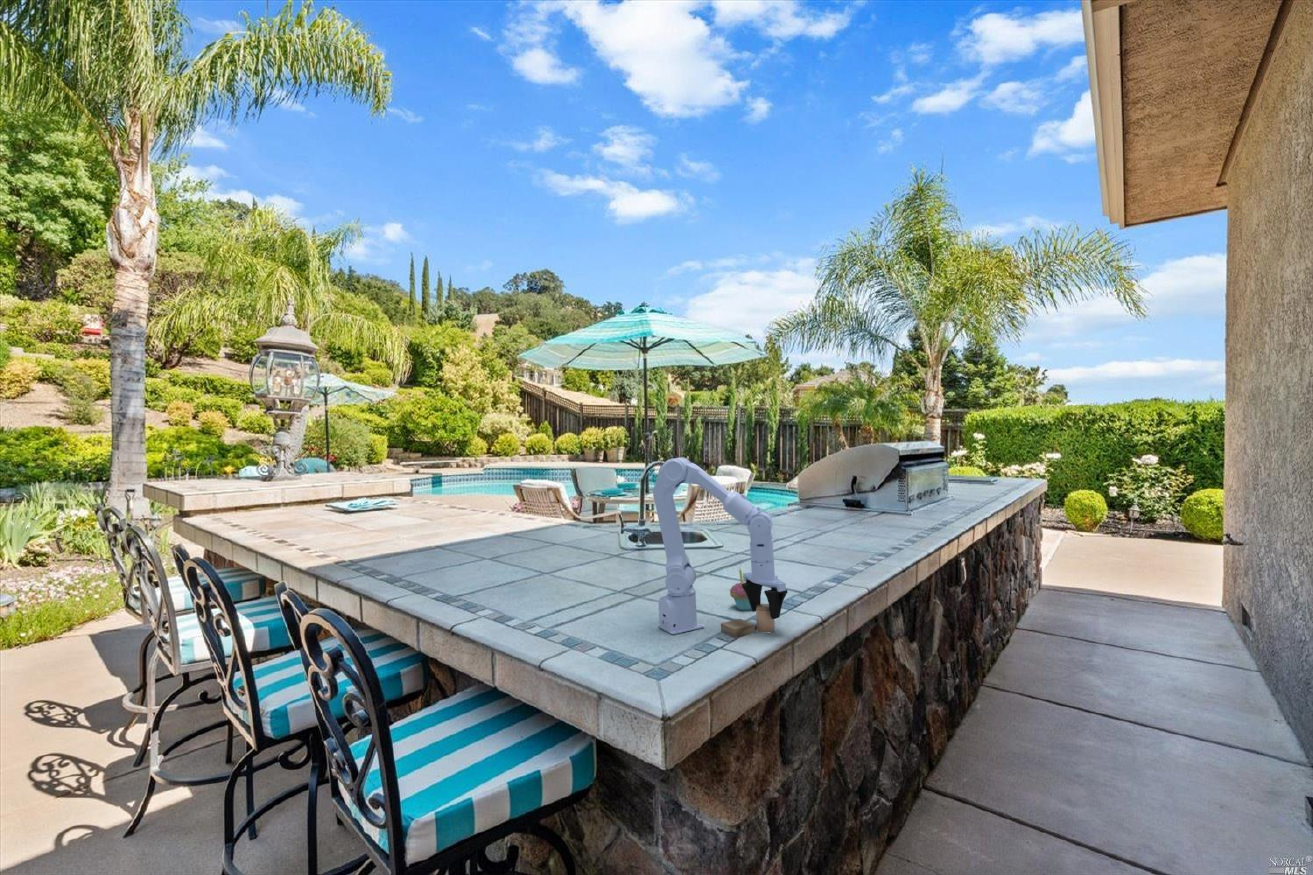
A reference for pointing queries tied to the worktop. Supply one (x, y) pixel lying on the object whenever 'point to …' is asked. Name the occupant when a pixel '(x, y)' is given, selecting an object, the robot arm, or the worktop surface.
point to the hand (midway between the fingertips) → (765, 614)
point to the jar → (764, 619)
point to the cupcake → (740, 595)
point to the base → (737, 628)
